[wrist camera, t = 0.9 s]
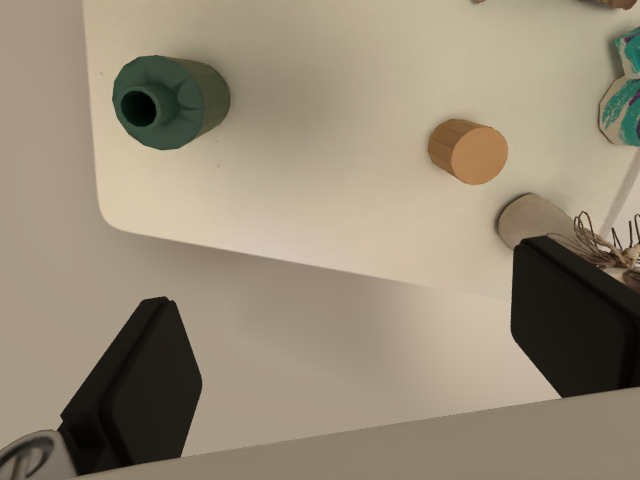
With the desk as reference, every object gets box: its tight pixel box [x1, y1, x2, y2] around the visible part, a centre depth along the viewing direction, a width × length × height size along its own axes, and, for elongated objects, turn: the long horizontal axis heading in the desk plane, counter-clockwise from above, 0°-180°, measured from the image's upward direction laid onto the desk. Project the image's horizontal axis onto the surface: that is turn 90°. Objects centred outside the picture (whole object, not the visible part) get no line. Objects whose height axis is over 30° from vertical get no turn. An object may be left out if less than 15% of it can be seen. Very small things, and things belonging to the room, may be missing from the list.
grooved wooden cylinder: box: [428, 119, 508, 185], centre depth 40 cm, size 5×5×7 cm
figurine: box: [498, 194, 640, 294], centre depth 37 cm, size 10×10×20 cm
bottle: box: [112, 55, 230, 150], centre depth 33 cm, size 7×7×16 cm
